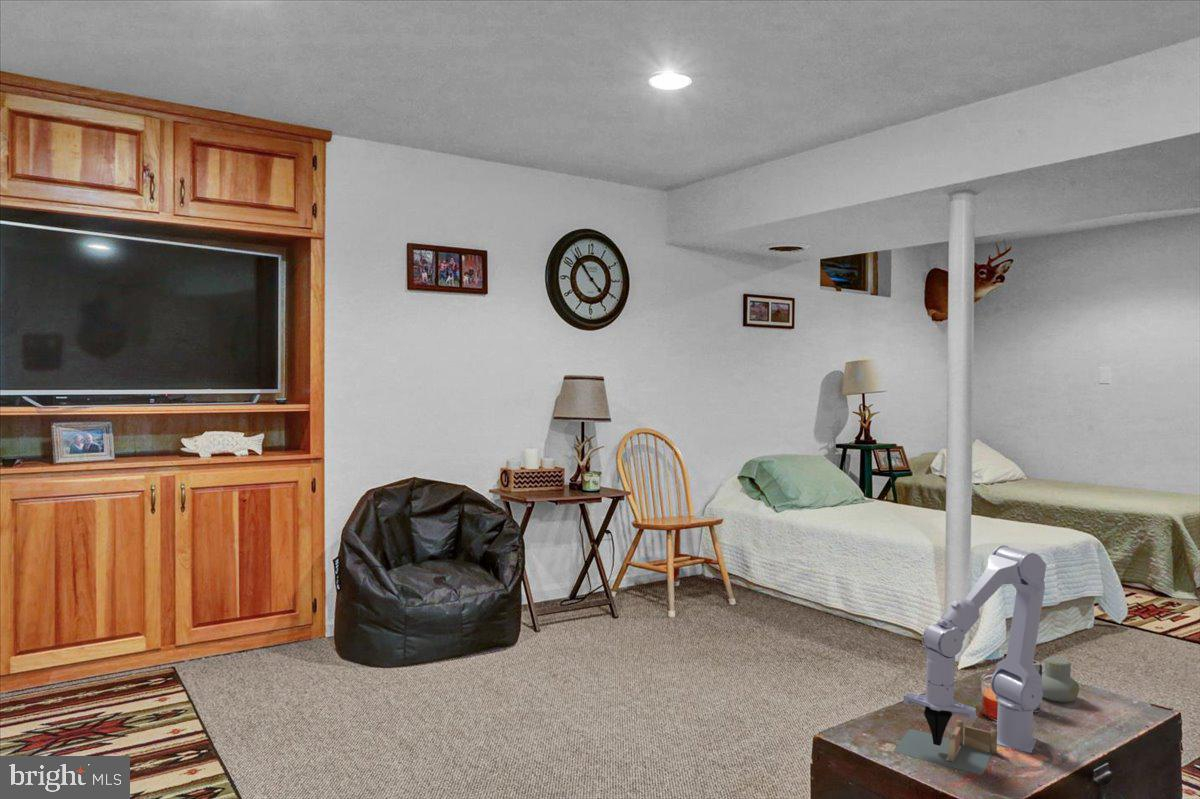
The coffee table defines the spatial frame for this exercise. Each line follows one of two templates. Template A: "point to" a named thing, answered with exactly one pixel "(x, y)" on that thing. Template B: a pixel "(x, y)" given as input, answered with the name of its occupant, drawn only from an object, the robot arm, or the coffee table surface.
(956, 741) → the fence panel
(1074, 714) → the coffee table surface
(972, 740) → the fence frame
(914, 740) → the card
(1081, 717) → the coffee table surface
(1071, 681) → the grey l-shaped piece
